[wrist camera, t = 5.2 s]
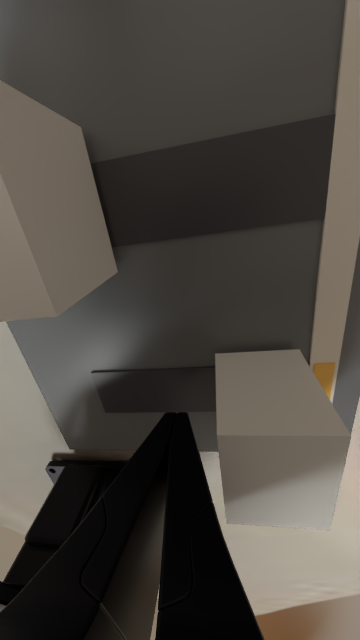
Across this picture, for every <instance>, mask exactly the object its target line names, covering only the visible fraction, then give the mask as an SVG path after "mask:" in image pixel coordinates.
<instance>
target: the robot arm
mask: <svg viewBox="0 0 360 640" xmlns="http://www.w3.org/2000/svg"><path fill="white" fill-rule="evenodd" d="M46 472H47V473H48V475H49V477H50V478H51V480H52V482H53V483H54V486H53V488H52V490H51V491H50V493H49V495H48V497H47V499H46V500H45V502H44V504H43V506H42V507H41V509H40V511H39V513H38V515H37V516H36V518H35V520H34V522H33V523H32V525H31V527H30V529H29V531H28V532H27V534H26V537H25V543H24V544H23V546H22V548H21V550H20V552H19V553H18V555H17V557H16V559H15V561H14V563H13V564H12V566H11V568H10V570H9V572H8V573H7V575H6V577H5V579H4V581H3V582H1V581H0V640H150V636H151V631H152V625H153V619H154V613H155V607H156V601H157V595H158V589H159V601H158V611H159V612H158V616H157V628H156V638H155V640H264V637H263V635H262V632H261V630H260V628H259V625H258V623H257V620H256V618H255V615H254V613H253V610H252V608H251V605H250V603H249V600H248V598H247V595H246V593H245V591H244V588H243V586H242V583H241V581H240V578H239V576H238V573H237V571H236V568H235V566H234V563H233V561H232V558H231V556H230V553H229V550H228V548H227V545H226V542H225V540H224V537H223V534H222V531H221V527H220V524H219V521H218V518H217V514H216V511H215V507H214V504H213V501H212V497H211V494H210V490H209V486H208V483H207V479H206V476H205V472H204V469H203V465H202V462H201V458H200V454H199V451H198V447H197V444H196V440H195V437H194V433H193V430H192V426H191V422H190V419H189V415H188V413H187V412H178V413H177V414H176V413H175V412H166V413H165V414H164V415H163V416H162V418H161V419H160V420H159V422H158V423H157V424H156V426H155V427H154V428H153V430H152V431H151V432H150V433H149V435H148V436H147V437H146V439H145V440H144V441H143V443H142V444H141V445H140V447H139V448H138V449H137V451H136V452H135V453H134V455H133V456H132V457H131V458H130V460H129V461H128V462H127V463H122V462H82V461H50V462H49V463H48V465H47V467H46ZM159 584H160V587H159Z"/></svg>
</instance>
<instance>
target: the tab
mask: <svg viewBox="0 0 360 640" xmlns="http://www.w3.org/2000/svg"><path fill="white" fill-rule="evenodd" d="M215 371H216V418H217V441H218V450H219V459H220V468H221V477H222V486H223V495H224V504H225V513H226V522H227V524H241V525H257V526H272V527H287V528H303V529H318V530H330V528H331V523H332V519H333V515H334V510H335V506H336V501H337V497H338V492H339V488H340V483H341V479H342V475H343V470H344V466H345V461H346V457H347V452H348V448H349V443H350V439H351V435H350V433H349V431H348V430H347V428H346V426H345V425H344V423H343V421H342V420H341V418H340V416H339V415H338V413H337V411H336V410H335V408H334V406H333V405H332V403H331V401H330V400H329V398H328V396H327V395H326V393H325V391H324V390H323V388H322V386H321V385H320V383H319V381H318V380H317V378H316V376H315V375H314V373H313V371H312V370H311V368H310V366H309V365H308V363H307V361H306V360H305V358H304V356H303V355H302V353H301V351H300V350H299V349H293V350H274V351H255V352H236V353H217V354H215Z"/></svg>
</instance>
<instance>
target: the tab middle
mask: <svg viewBox="0 0 360 640" xmlns="http://www.w3.org/2000/svg"><path fill="white" fill-rule="evenodd" d="M117 272H118V270H117V266H116V262H115V259H114V255H113V251H112V247H111V243H110V239H109V235H108V231H107V227H106V223H105V219H104V215H103V211H102V207H101V204H100V200H99V196H98V192H97V188H96V184H95V180H94V176H93V172H92V168H91V164H90V160H89V156H88V153H87V149H86V145H85V141H84V137H83V133H82V129H81V127H80V126H78V125H76V124H75V123H73V122H71V121H69V120H68V119H66V118H64V117H63V116H61V115H59V114H57V113H56V112H54V111H52V110H51V109H49V108H47V107H45V106H44V105H42V104H40V103H38V102H37V101H35V100H33V99H32V98H30V97H28V96H26V95H25V94H23V93H21V92H20V91H18V90H16V89H14V88H13V87H11V86H9V85H8V84H6V83H4V82H2V81H1V80H0V322H3V321H14V320H25V319H37V318H48V317H57V316H59V315H60V314H61V313H63V312H64V311H65V310H67V309H68V308H70V307H71V306H72V305H74V304H75V303H76V302H78V301H79V300H80V299H82V298H83V297H85V296H86V295H87V294H89V293H90V292H91V291H93V290H94V289H96V288H97V287H98V286H100V285H101V284H102V283H104V282H105V281H106V280H108V279H109V278H111V277H112V276H113V275H115V274H116V273H117Z"/></svg>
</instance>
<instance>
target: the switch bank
mask: <svg viewBox="0 0 360 640" xmlns="http://www.w3.org/2000/svg"><path fill="white" fill-rule="evenodd" d="M0 80H1V81H2V82H4V83H6V84H8V85H9V86H11V87H13V88H14V89H16V90H18V91H20V92H21V93H23V94H25V95H26V96H28V97H30V98H32V99H33V100H35V101H37V102H38V103H40V104H42V105H44V106H45V107H47V108H49V109H51V110H52V111H54V112H56V113H57V114H59V115H61V116H63V117H64V118H66V119H68V120H69V121H71V122H73V123H75V124H76V125H78V126H80V127H81V129H82V133H83V137H84V141H85V145H86V149H87V153H88V156H89V160H90V164H91V168H92V172H93V176H94V180H95V184H96V188H97V192H98V196H99V200H100V204H101V207H102V211H103V215H104V219H105V223H106V227H107V231H108V235H109V239H110V243H111V247H112V251H113V255H114V259H115V262H116V266H117V270H118V272H117V273H116V274H115V275H113V276H112V277H111V278H109V279H108V280H106V281H105V282H104V283H102V284H101V285H100V286H98V287H97V288H96V289H94V290H93V291H91V292H90V293H89V294H87V295H86V296H85V297H83V298H82V299H80V300H79V301H78V302H76V303H75V304H74V305H72V306H71V307H70V308H68V309H67V310H65V311H64V312H63V313H61V314H60V315H59V316H57V317H48V318H37V319H25V320H14V321H6V322H7V324H8V326H9V328H10V330H11V332H12V334H13V336H14V338H15V340H16V342H17V344H18V346H19V348H20V350H21V352H22V354H23V356H24V358H25V360H26V363H27V365H28V367H29V369H30V371H31V373H32V375H33V377H34V379H35V381H36V383H37V385H38V387H39V389H40V391H41V393H42V395H43V397H44V399H45V401H46V403H47V405H48V407H49V409H50V411H51V413H52V415H53V417H54V419H55V421H56V423H57V425H58V427H59V429H60V431H61V433H62V435H63V437H64V439H65V441H66V443H67V445H68V447H69V449H82V450H137V449H138V448H139V447H140V445H141V444H142V443H143V441H144V440H145V439H146V437H147V436H148V435H149V433H150V432H151V431H152V430H153V428H154V427H155V426H156V424H157V423H158V422H159V420H160V419H161V418H162V416H163V415H164V414H165V413H166V412H175V413H176V414H177V413H178V412H187V413H188V415H189V419H190V422H191V426H192V430H193V433H194V437H195V440H196V444H197V447H198V451H212V452H219V450H218V441H217V418H216V371H215V354H217V353H236V352H255V351H274V350H293V349H299V350H300V351H301V353H302V355H303V356H304V358H305V360H306V361H307V363H308V365H309V366H310V368H311V370H312V371H313V373H314V375H315V376H316V378H317V380H318V381H319V383H320V385H321V386H322V388H323V390H324V391H325V393H326V395H327V396H328V398H329V400H330V401H331V403H332V405H333V406H334V408H335V410H336V411H337V413H338V415H339V416H340V418H341V420H342V421H343V423H344V425H345V426H346V428H347V430H348V431H349V433H350V435H351V432H352V427H353V423H354V418H355V414H356V409H357V405H358V400H359V396H360V0H0Z"/></svg>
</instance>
